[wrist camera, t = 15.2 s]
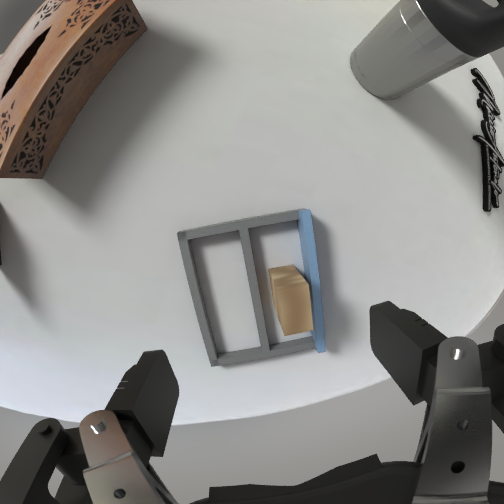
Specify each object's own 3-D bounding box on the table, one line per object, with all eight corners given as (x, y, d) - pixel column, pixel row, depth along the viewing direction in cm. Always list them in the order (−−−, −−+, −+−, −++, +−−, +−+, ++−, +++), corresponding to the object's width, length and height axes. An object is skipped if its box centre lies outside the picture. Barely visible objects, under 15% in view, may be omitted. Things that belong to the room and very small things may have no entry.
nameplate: (461, 60, 28) (492, 77, 28) (456, 62, 29) (487, 79, 30) (480, 210, 33) (507, 214, 33) (474, 210, 34) (502, 213, 35)
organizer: (303, 208, 33) (310, 209, 30) (319, 340, 36) (325, 351, 33) (179, 231, 32) (174, 234, 29) (212, 360, 36) (210, 373, 33)
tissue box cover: (91, 9, 24) (66, -20, 15) (148, 29, 27) (126, -10, 17) (1, 138, 28) (-38, 132, 18) (43, 178, 30) (-3, 177, 20)
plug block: (292, 264, 34) (308, 284, 26) (297, 301, 35) (313, 329, 27) (268, 268, 34) (278, 290, 26) (274, 306, 35) (284, 336, 27)
